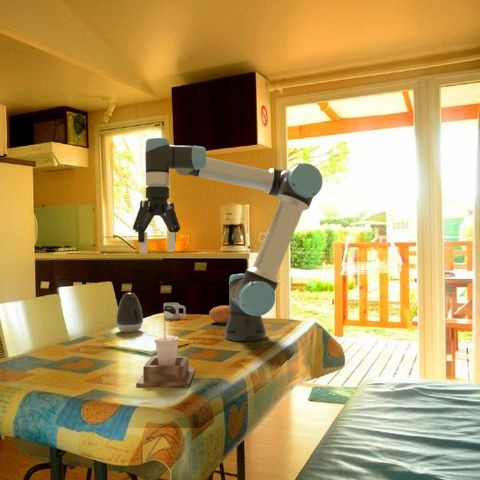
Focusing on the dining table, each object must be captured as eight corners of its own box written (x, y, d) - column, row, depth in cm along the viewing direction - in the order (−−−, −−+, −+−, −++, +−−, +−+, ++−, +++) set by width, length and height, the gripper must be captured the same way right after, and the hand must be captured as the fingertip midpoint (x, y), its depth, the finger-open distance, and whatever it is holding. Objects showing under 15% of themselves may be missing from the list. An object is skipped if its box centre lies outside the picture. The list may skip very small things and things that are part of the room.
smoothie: (155, 371, 125) (155, 319, 125) (179, 371, 126) (179, 319, 126) (153, 379, 119) (153, 323, 119) (178, 378, 119) (178, 323, 119)
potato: (231, 325, 194) (231, 307, 194) (206, 324, 197) (206, 306, 197) (238, 321, 203) (238, 304, 203) (213, 320, 206) (213, 303, 206)
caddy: (194, 371, 129) (194, 355, 129) (188, 386, 116) (188, 368, 116) (147, 371, 129) (147, 355, 129) (136, 386, 116) (135, 368, 116)
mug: (161, 319, 209) (161, 304, 209) (166, 317, 216) (166, 302, 216) (183, 320, 207) (183, 305, 207) (187, 317, 214) (187, 302, 214)
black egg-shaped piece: (119, 335, 176) (119, 294, 176) (113, 330, 185) (113, 291, 185) (146, 332, 181) (146, 293, 180) (139, 328, 190) (138, 290, 190)
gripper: (173, 190, 165) (173, 251, 165) (120, 183, 143) (121, 253, 143) (190, 189, 161) (190, 251, 161) (139, 182, 139) (139, 254, 140)
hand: (157, 252), depth 152 cm, fingers open, 13 cm apart
